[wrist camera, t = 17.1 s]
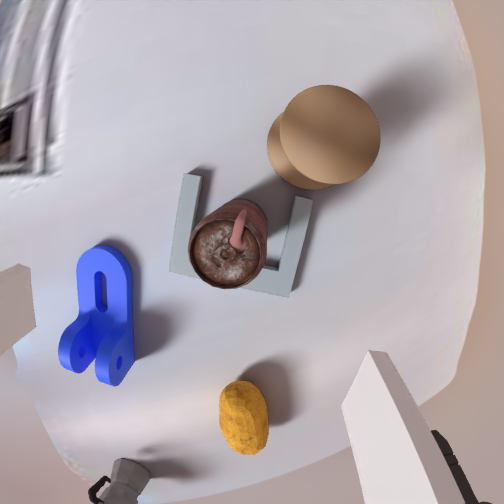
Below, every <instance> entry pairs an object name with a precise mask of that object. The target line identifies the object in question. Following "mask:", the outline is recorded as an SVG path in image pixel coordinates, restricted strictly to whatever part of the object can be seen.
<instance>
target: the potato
mask: <svg viewBox="0 0 504 504" xmlns="http://www.w3.org/2000/svg"><path fill="white" fill-rule="evenodd" d="M219 407H220V420H219V422H220V427H221V430H222V433H223V435H224V436H225V438H226V440H227V442H228V444H229V446H230V447H231V448H232V449H233V450H234V451H236V452H238V453H241V454H248V455H255V454H256V453H258V452H259V451H260V450H262V449H263V448H264V447H265V446H266V442H267V438H268V434H269V425H268V412H267V405H266V402H265V399H264V397H263V395H262V393H261V392H260V390H259V388H257V387H256V386H254V385H253V384H252V383H251V382H247V381H241V380H240V381H236V382H232V383H230V384H229V385H227V386H226V387H225V388H224V390H223V391H222V392H221V396H220V405H219Z"/></svg>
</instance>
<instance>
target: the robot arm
mask: <svg viewBox="0 0 504 504" xmlns="http://www.w3.org/2000/svg"><path fill="white" fill-rule="evenodd" d="M35 327H36V322H35V314H34V306H33V297H32V286H31V272H30V268H29V267H26V266H23V265H21V264H17V265H15V266H13V267H11V268H8V269H6V270H4V271H2V272H0V355H2V354H3V353H4V352H5V351H6V350H8V349H9V348H10V347H11V346H13V345H14V344H15V343H16V342H17V341H19V340H20V339H21V338H23V337H24V336H25V335H26V334H28V333H29V332H30V331H31V330H33V329H34V328H35ZM341 408H342V412H343V416H344V419H345V423H346V427H347V431H348V434H349V438H350V442H351V446H352V450H353V454H354V458H355V462H356V466H357V470H358V475H359V478H360V483H361V487H362V492H363V496H364V500H365V504H491V503H489V502H480V503H479V502H478V500H477V499H476V497H475V495H474V493H473V491H472V489H471V487H470V484H469V482H468V480H467V478H466V476H465V474H464V472H463V470H462V468H461V467H460V465H458V460H457V459H456V457H455V455H453V451H452V449H451V447H450V445H449V443H448V442H447V440H446V439H445V438H444V437H443V436H442V435H441V434H440V433H439V432H438V431H437V430H432V431H430V429H429V427H428V425H427V423H426V421H425V419H424V418H423V416H422V414H421V412H420V410H419V408H418V407H417V405H416V403H415V401H414V399H413V397H412V396H411V394H410V392H409V390H408V389H407V387H406V385H405V383H404V382H403V380H402V378H401V376H400V375H399V373H398V371H397V369H396V368H395V366H394V364H393V363H392V361H391V359H390V357H389V356H388V354H387V352H380V351H371V350H368V352H367V354H366V356H365V358H364V361H363V363H362V365H361V367H360V369H359V371H358V374H357V376H356V378H355V380H354V382H353V384H352V386H351V388H350V390H349V392H348V394H347V396H346V398H345V400H344V402H343V404H342V405H341Z"/></svg>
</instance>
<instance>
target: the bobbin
mask: <svg viewBox="0 0 504 504" xmlns="http://www.w3.org/2000/svg"><path fill="white" fill-rule="evenodd" d="M379 148H380V129H379V125H378V122H377V119H376V117H375V115H374V113H373V111H372V110H371V108H370V107H369V106H368V104H367V103H366V102H365V101H364V100H363V99H362V98H360V97H359V96H358V95H356V94H355V93H353V92H352V91H350V90H348V89H345V88H342V87H339V86H334V85H319V86H314V87H311V88H308V89H306V90H304V91H302V92H301V93H299V94H298V95H297V96H295V97H294V98H293V99H292V100H291V102H290V103H289V104H288V106H287V107H286V109H285V111H284V112H283V113H282V114H281V115H280V116H279V117H278V118H277V119H276V120H275V121H274V123H273V125H272V127H271V129H270V131H269V135H268V140H267V150H268V156H269V159H270V162H271V164H272V166H273V168H274V169H275V171H276V172H277V173H278V175H279V176H280V177H281V178H283V179H284V180H285V181H286V182H288V183H290V184H292V185H294V186H296V187H299V188H302V189H308V190H317V189H323V188H326V187H329V186H331V185H333V184H342V183H346V182H350V181H352V180H355V179H357V178H359V177H360V176H362V175H363V174H364V173H365V172H366V171H367V170H369V168H370V167H371V166H372V164H373V163H374V161H375V159H376V157H377V155H378V151H379Z"/></svg>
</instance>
